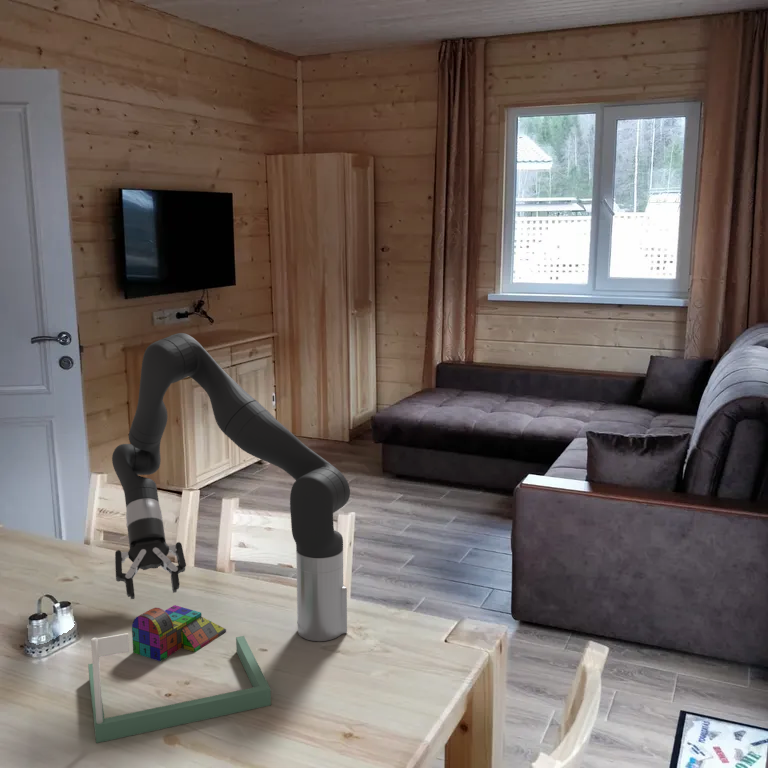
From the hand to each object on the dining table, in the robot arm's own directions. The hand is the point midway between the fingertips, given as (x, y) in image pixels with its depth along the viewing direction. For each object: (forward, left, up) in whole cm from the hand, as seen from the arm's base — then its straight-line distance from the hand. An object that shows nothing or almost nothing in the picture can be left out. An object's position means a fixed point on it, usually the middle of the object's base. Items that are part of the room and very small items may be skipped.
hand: (154, 594), depth 170 cm
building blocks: (-3, +14, -5) cm, 15 cm away
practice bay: (0, +32, -5) cm, 32 cm away
